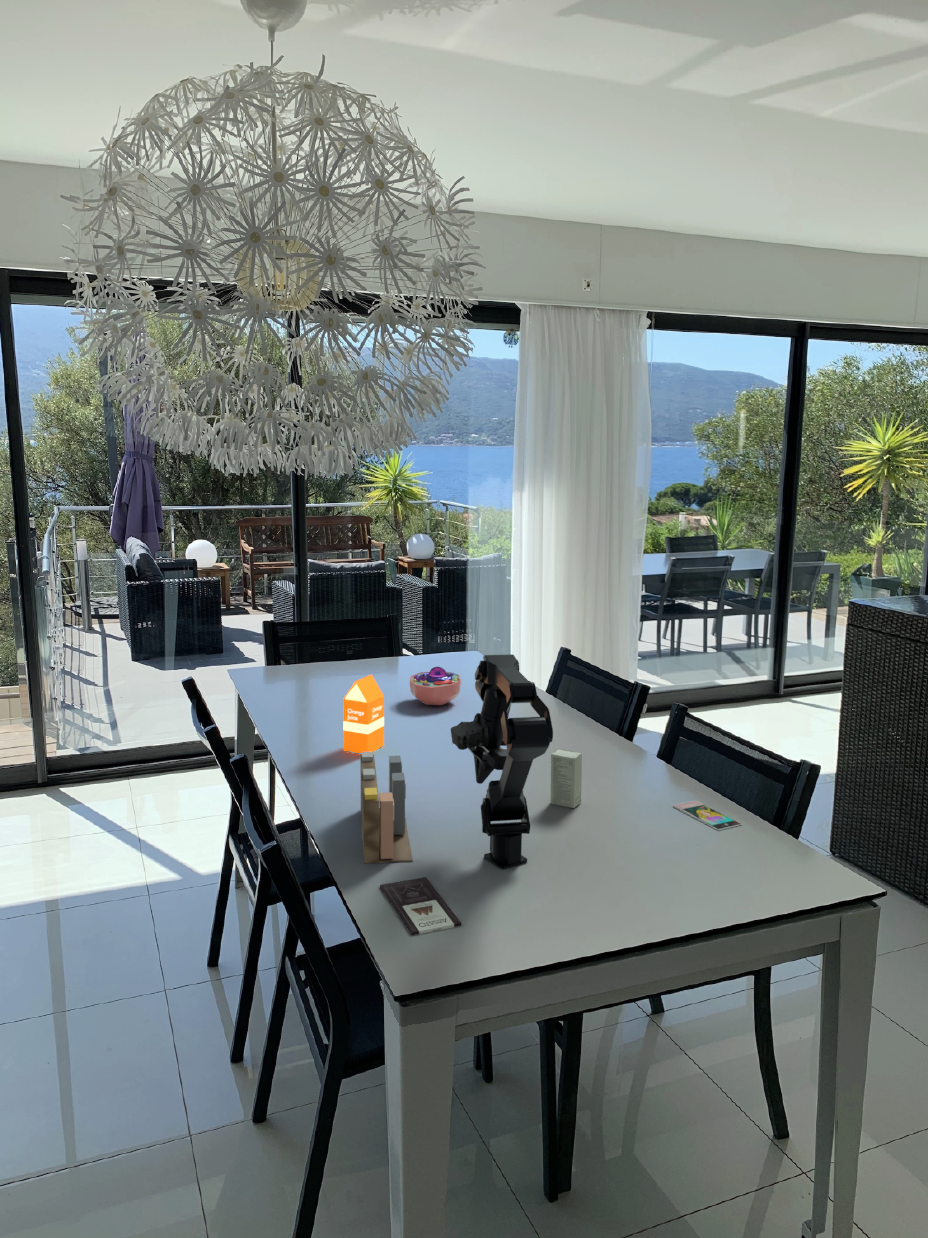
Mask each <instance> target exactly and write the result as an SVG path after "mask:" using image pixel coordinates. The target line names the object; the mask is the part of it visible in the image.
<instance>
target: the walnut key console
mask: <svg viewBox="0 0 928 1238" xmlns="http://www.w3.org/2000/svg"><path fill="white" fill-rule="evenodd" d="M359 755H360V754H359ZM359 757H360V763H359V764H360V820H361V821H360V822H361V835H362V836H361V837H362V839H361V840H362V851H363V852H362V853H363V864H365V863H366V864H380V863H381V864H382V863H405V862H406V863H407V862H409V863H410V862H413V855H412V849H411V844H410V838H409V837H410V836H409V832H408V831H409V830H408V827H407V819H405V835H393V858H391V859H381V857H380V794H379V787H378V778H377V770H376V760H375V755H374V753H373V751H370V752H362V755H360V756H359Z"/></svg>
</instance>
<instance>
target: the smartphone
mask: <svg viewBox="0 0 928 1238" xmlns="http://www.w3.org/2000/svg"><path fill="white" fill-rule="evenodd" d="M672 808H673V809H676V810H678V811H680V812H681V813H683V814H685V815H687V816H689V817H691V818H693V819H695V820H697V821H699V822H700V823H703V824H704V825H706V826H708V827H710V828H712V829H713V830H716V831H719V832H720V831H723V830H728V829H727V828H729V829H732V828H731V827H733V828H735V827H734V826H737V827H740V825H741V826H742V825H743V824H742V823H741V822H739V821H737V820H735V819H733V818H732V817H729V816H728V815H725V814H723V813H721V811H720V812H719V811H718V810H716V809H713V807H709V806H708V805H706V804H704V803H702V802H700V801H698V800H696V799H695V800H690V801H685V802H681V803H677V804H672Z"/></svg>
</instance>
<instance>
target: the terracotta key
mask: <svg viewBox="0 0 928 1238" xmlns="http://www.w3.org/2000/svg"><path fill="white" fill-rule="evenodd" d="M379 808H380V857H381V859H391V858H393V820H394V800H393V795H392V792H391V793H389V792H379Z"/></svg>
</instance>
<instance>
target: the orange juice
mask: <svg viewBox="0 0 928 1238" xmlns="http://www.w3.org/2000/svg"><path fill="white" fill-rule="evenodd" d="M342 701H343V702H342V703H343V705H342V709H343V710H342V711H343V712H342V713H343V716H342V717H343V719H342V720H343V722H342V723H343V725H342V726H343V730H342V731H343V752H344V751H352V752H356V753H361V754H362V752H370V751H375V752H377V751H378V749H379V748H380V747H382V746H384V747H385V695H384V694H383V692H382V690H381V688H380V687H379V685H378V683H377V681H376V680H375V678H374V676H373V674H368V675H367V676H364V677H362V678H359V679H357V680H355V681H354V682H353V684H352V685H351V687H350V689H348V691H347V693H346V695H344V697H343V699H342ZM382 748H383V747H382ZM376 750H377V751H376ZM379 750H380V749H379Z"/></svg>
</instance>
